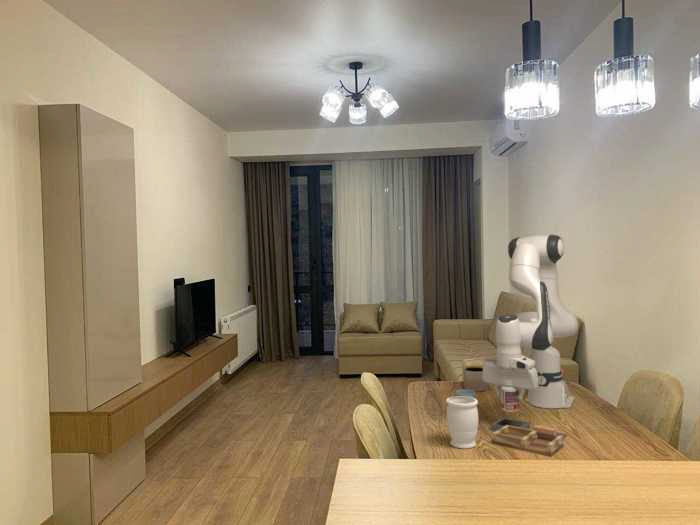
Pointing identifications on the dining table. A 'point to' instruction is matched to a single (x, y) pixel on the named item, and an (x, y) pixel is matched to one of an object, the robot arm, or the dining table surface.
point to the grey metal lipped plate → (549, 436)
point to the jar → (462, 421)
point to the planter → (474, 379)
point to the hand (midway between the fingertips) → (509, 398)
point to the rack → (526, 440)
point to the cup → (465, 393)
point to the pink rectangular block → (545, 430)
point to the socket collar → (502, 421)
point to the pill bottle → (509, 397)
